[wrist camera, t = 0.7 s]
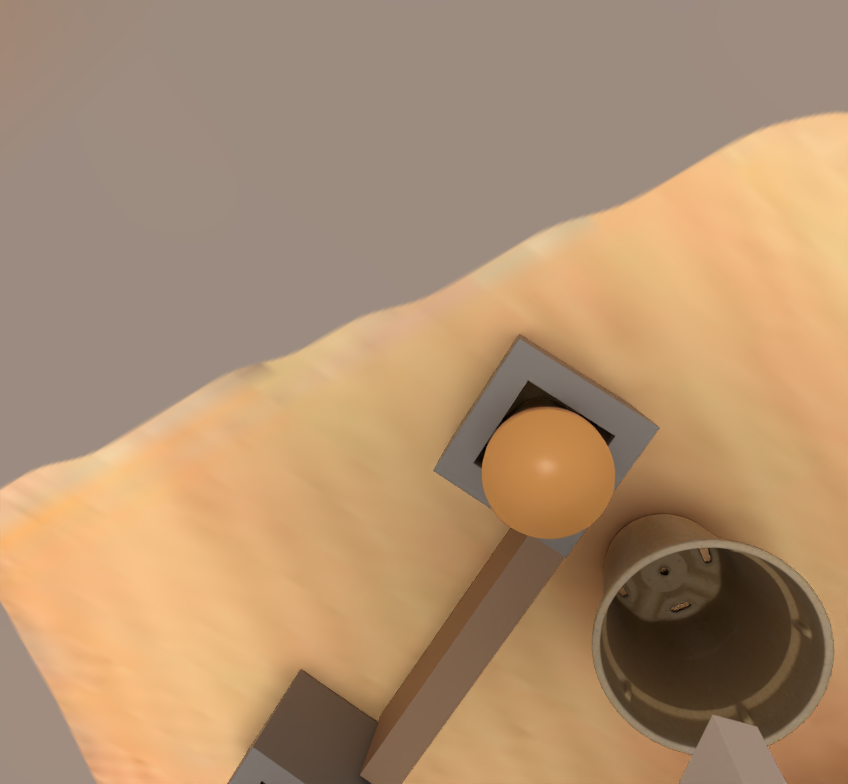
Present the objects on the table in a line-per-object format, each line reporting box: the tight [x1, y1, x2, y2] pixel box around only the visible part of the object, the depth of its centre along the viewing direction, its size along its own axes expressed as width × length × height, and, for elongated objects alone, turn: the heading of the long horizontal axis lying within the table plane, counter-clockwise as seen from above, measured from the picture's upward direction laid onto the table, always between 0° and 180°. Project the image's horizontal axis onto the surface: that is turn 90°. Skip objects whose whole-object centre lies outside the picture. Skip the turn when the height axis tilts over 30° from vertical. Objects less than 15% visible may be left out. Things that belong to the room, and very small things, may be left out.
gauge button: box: [482, 399, 615, 539], centre depth 27 cm, size 5×5×8 cm
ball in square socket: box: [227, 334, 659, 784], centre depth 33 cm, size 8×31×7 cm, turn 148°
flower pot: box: [592, 514, 834, 755], centre depth 30 cm, size 9×9×9 cm
